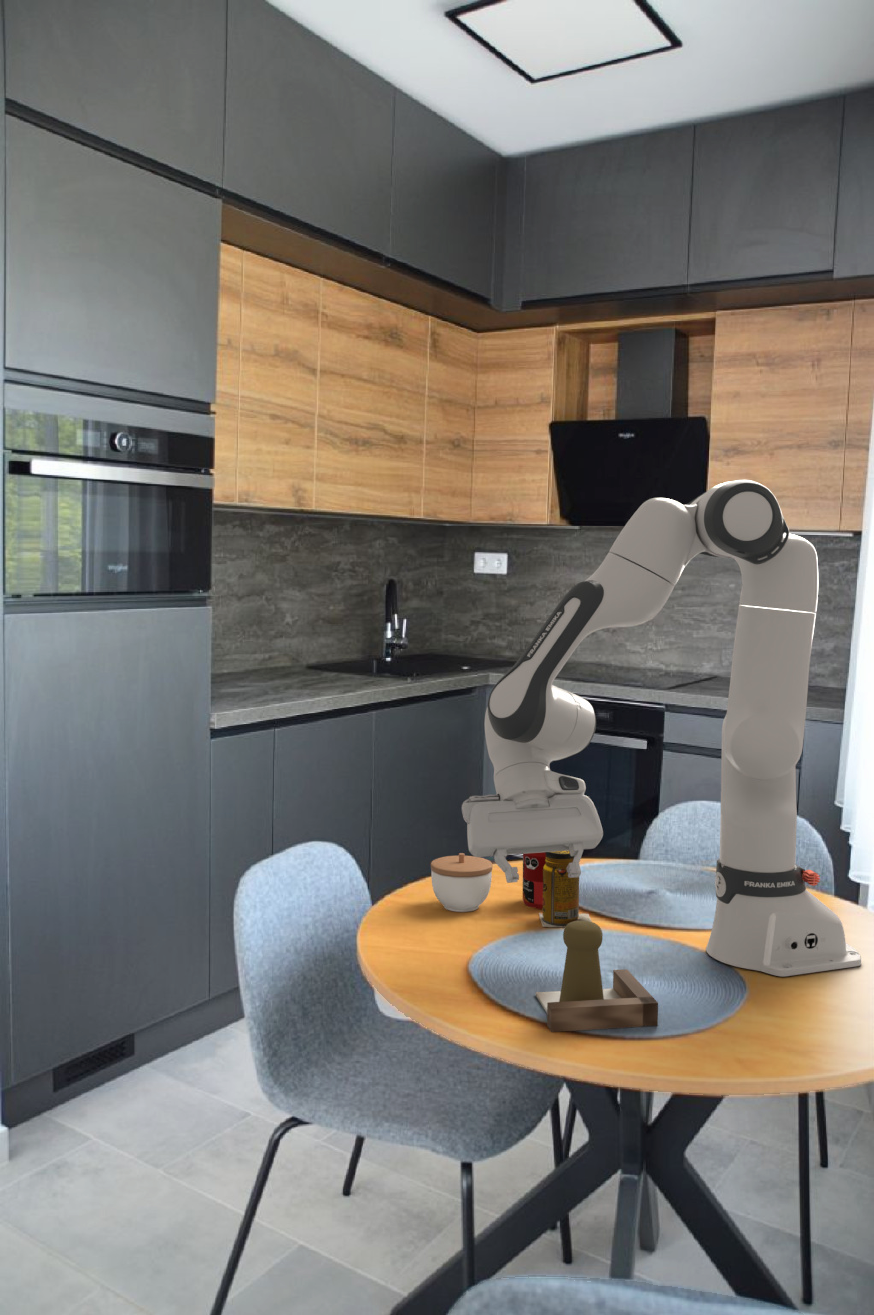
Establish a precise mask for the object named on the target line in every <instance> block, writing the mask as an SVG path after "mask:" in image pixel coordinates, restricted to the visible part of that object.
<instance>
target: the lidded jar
mask: <svg viewBox="0 0 874 1315" xmlns="http://www.w3.org/2000/svg"><path fill="white" fill-rule="evenodd" d="M430 870H431V873H430V874H431V885H432V890H433V894H434V895H435V897H436V899H437V900H438V901H439V903H440V904H441V905H443V908H444V909H445V910H448V911H450V912H457V913H467V912H474V911H476V910H478V909H479V906H481V905H482V904H483V903H484V901H486V899H487V897H488V895H489V893H490V890H491V887H492V886H491V885H492V877H493V876H492V874H493V873H492V872H493V863H492V861H491V860H489V859H487V858H484V857H475V856H473V855H465V853H463V852H460V853H458V855H447V856H442V857H438V858H435V859H433V860H431V862H430Z"/></svg>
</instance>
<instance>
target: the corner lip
mask: <svg viewBox="0 0 874 1315" xmlns="http://www.w3.org/2000/svg"><path fill="white" fill-rule="evenodd" d="M612 970H613V972H612V988H610V987H609V988H603V996H604V999H603V1000H585V1001H566V1002H559V1000H560V993H561V990H557V991H556V990H555V991H536V992H535V996H536V999H537V1000H538V1002H539V1003H540V1005H541V1007H542V1008H543V1009H544V1011H545V1013H546V1025H547V1027H548V1029H549V1031H550V1032H551V1033H556V1032H557V1033H558V1032H572V1031H573V1032H574V1031H589V1030H590V1031H591V1030H592V1031H593V1030H606V1029H608V1030H609V1029H624V1028H625V1029H626V1028H639V1027H641V1028H642V1027H657V1026H659V1025H658V1024H659V1023H658V1022H659V1002H658V1001H657V1000H656V999H655V998H654V997H653V996H652V995H651V993H650V992H649V991H648V990H647V989H646V988H645V987H644V986H643V985H642V984H641V982H639V980H638V979H637V978H636V977H635V976H634V975H633V974H632V972H631V971H629V969H628V968H626V969H612Z"/></svg>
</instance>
